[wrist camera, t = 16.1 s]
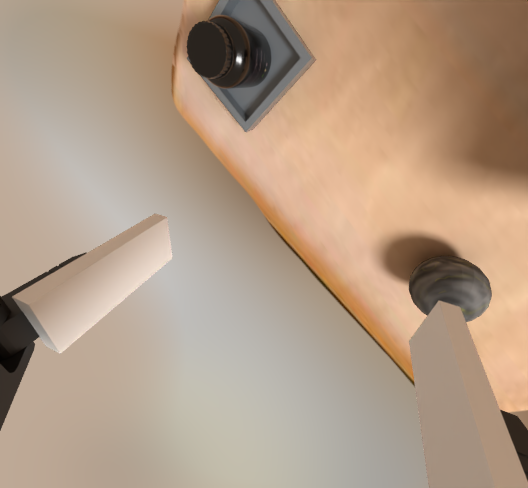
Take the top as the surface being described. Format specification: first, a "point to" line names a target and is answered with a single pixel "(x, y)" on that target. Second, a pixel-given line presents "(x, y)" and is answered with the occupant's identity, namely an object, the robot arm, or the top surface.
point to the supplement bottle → (229, 52)
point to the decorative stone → (450, 286)
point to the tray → (282, 60)
